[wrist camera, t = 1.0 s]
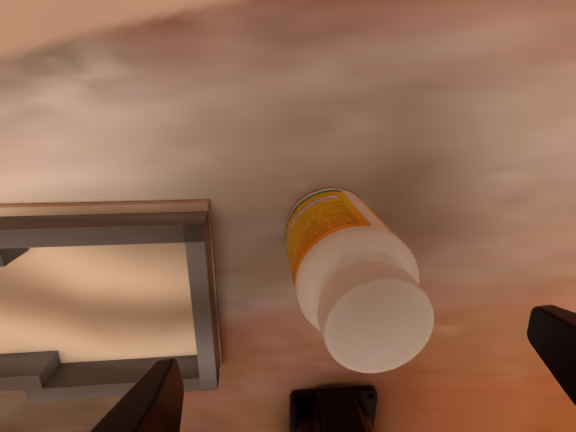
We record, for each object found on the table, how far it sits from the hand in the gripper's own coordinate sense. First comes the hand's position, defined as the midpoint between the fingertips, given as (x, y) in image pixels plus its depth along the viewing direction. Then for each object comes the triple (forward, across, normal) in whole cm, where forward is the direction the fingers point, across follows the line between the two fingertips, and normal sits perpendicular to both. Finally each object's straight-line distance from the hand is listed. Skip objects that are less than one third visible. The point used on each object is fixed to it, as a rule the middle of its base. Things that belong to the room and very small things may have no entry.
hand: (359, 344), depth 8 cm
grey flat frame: (+12, +17, +4) cm, 21 cm away
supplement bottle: (+12, -2, +2) cm, 13 cm away
